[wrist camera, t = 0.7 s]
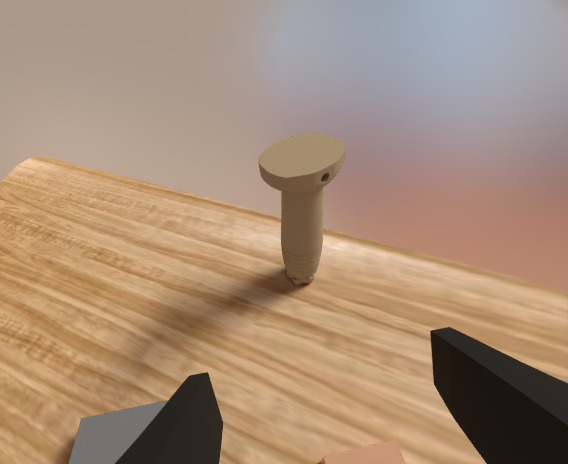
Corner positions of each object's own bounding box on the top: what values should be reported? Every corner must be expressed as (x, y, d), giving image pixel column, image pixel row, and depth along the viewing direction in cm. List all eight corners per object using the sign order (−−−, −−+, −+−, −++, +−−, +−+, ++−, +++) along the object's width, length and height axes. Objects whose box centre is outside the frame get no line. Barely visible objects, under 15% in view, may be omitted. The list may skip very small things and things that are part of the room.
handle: (265, 275, 30) (246, 154, 19) (309, 247, 33) (314, 126, 22) (292, 306, 28) (287, 186, 17) (337, 273, 30) (359, 150, 19)
